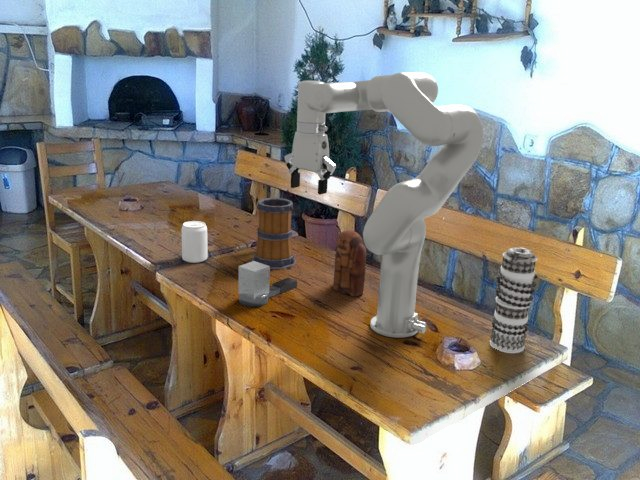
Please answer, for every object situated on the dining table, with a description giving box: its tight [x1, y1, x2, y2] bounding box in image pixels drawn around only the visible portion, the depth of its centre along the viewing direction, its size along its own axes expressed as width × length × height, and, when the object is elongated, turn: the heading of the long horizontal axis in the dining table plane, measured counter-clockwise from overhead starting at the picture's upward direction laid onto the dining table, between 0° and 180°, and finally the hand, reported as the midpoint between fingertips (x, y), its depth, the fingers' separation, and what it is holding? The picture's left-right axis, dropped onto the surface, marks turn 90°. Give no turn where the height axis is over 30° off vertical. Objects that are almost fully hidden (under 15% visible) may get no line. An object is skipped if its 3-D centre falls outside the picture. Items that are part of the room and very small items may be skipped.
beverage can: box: [181, 220, 209, 264], centre depth 209 cm, size 8×8×12 cm
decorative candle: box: [489, 246, 539, 354], centre depth 158 cm, size 9×9×25 cm
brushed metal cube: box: [238, 260, 271, 299], centre depth 179 cm, size 6×6×8 cm
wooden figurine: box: [332, 229, 367, 297], centre depth 189 cm, size 12×6×18 cm, turn 42°
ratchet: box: [238, 276, 298, 308], centre depth 185 cm, size 8×21×6 cm, turn 142°
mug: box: [251, 197, 297, 270], centre depth 212 cm, size 19×14×20 cm
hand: (308, 190), depth 180 cm, fingers open, 9 cm apart
